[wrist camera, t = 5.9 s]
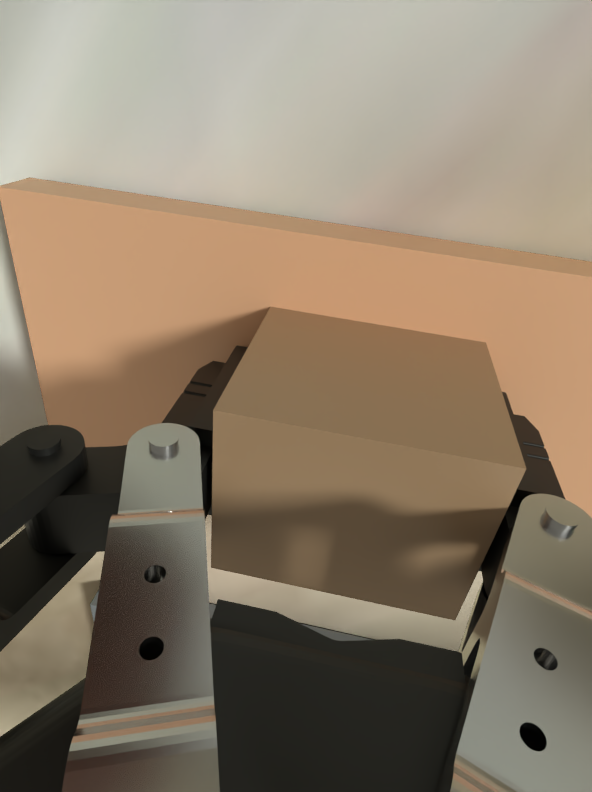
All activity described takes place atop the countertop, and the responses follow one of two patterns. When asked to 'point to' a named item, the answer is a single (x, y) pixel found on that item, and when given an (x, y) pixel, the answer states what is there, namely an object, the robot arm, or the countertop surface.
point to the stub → (315, 376)
